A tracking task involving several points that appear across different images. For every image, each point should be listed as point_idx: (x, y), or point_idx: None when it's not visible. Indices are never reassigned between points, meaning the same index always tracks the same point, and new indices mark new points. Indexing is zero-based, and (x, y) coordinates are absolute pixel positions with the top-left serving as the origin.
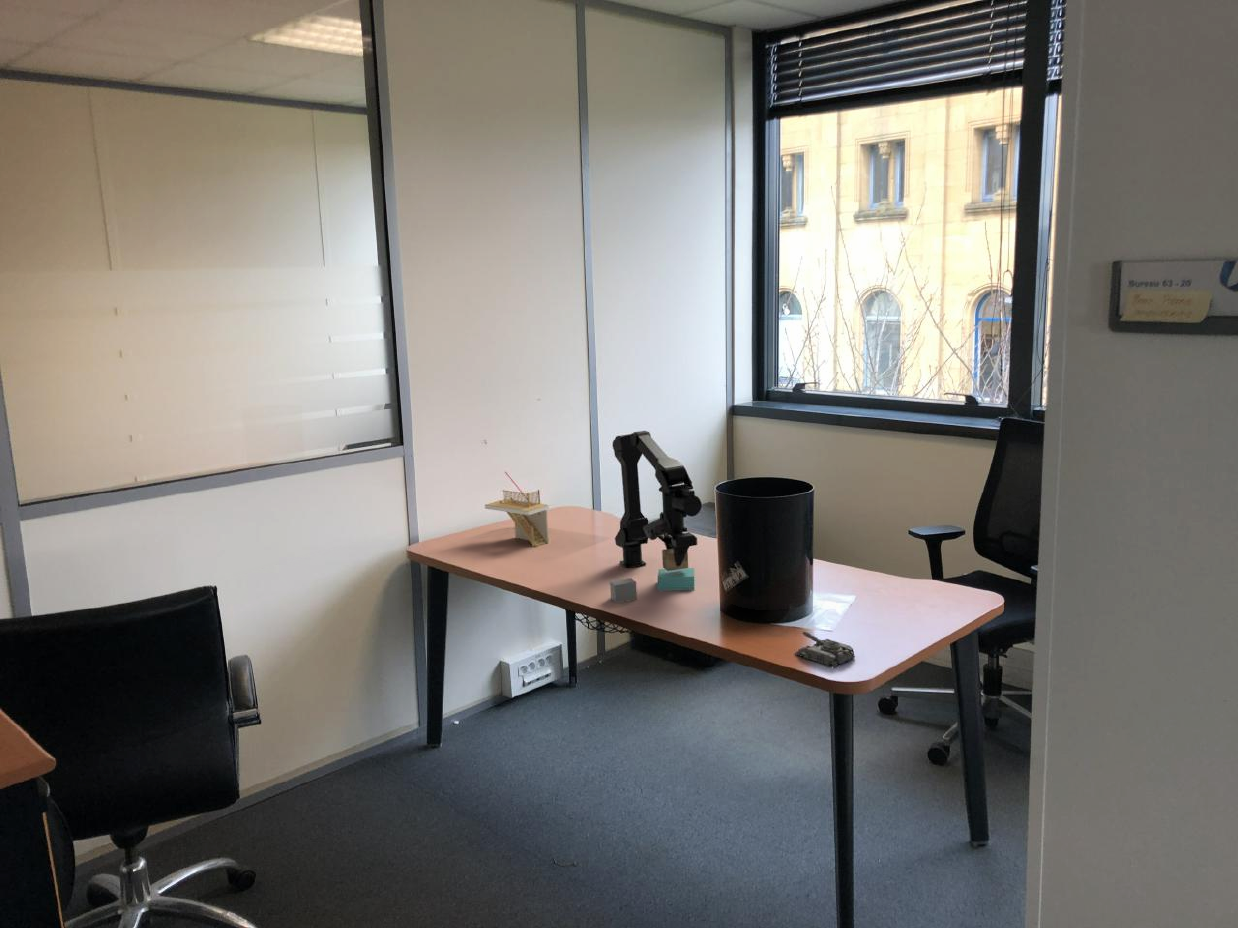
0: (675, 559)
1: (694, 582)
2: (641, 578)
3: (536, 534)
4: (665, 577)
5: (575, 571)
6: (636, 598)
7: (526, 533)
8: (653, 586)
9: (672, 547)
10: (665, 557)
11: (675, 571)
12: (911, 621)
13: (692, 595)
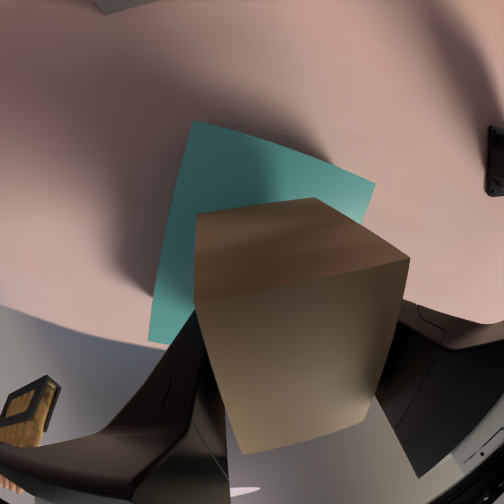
0: (197, 331)
1: None
2: (402, 114)
3: None
4: (177, 177)
5: (482, 6)
6: (103, 12)
7: None
8: (272, 118)
9: (68, 447)
10: (271, 246)
11: None
12: None
13: (79, 273)
